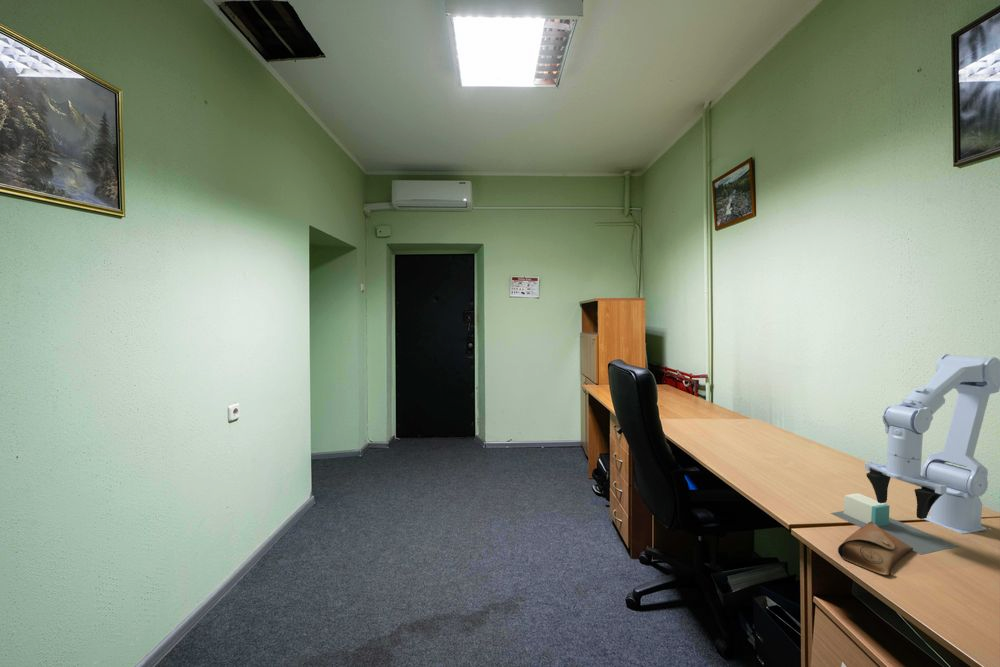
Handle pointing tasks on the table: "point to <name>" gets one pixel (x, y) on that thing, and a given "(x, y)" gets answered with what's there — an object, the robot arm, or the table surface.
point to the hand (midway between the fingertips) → (901, 509)
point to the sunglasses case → (873, 549)
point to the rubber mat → (906, 535)
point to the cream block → (866, 509)
